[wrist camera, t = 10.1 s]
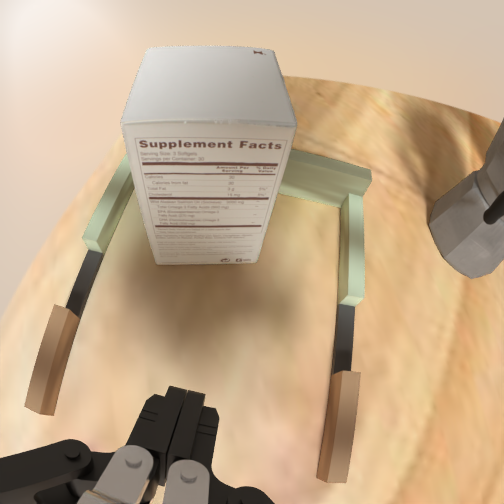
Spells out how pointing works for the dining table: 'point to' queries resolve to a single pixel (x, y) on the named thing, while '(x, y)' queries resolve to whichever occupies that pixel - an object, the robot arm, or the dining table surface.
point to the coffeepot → (474, 217)
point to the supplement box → (207, 150)
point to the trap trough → (349, 295)
